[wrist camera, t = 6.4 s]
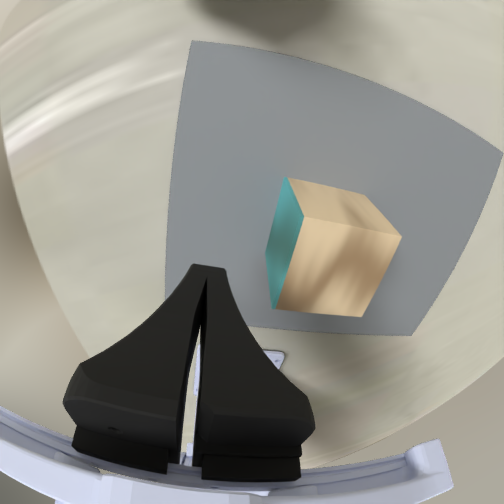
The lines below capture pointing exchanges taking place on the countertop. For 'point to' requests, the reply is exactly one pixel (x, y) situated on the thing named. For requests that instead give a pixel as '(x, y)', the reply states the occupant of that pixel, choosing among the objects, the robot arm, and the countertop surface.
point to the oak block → (326, 250)
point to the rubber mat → (317, 178)
